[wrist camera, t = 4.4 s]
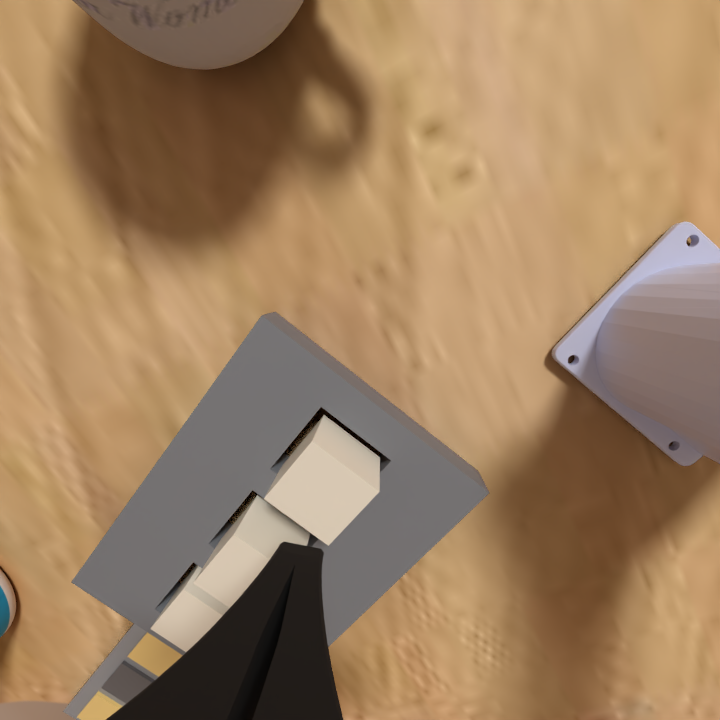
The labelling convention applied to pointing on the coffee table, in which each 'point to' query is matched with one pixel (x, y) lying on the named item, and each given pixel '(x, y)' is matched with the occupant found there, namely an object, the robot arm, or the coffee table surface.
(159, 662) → the tile
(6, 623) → the beverage bottle
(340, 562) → the board
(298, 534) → the button mid
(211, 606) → the button
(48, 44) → the coffee table surface
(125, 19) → the teacup
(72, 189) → the coffee table surface
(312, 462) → the button
